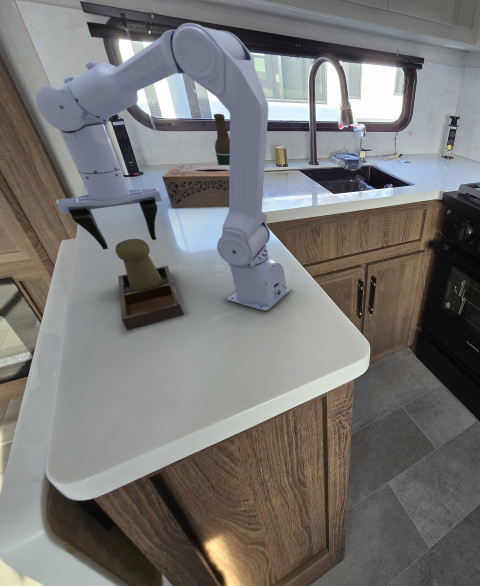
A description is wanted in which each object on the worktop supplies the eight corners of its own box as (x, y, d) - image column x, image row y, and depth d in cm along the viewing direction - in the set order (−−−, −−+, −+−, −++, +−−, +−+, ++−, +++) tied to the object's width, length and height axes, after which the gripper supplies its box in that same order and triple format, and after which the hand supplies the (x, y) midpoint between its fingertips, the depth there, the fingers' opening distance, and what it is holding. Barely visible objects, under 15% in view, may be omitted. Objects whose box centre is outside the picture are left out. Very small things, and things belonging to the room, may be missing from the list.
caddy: (183, 314, 63) (179, 304, 61) (127, 330, 58) (121, 319, 57) (171, 275, 74) (167, 265, 72) (122, 286, 69) (118, 275, 68)
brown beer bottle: (246, 180, 135) (234, 114, 122) (230, 184, 130) (215, 116, 116) (234, 177, 139) (221, 112, 125) (217, 181, 133) (202, 113, 120)
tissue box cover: (259, 192, 124) (255, 165, 119) (256, 205, 113) (251, 175, 107) (183, 194, 118) (174, 165, 113) (172, 208, 107) (162, 176, 101)
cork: (159, 279, 72) (141, 232, 66) (171, 289, 69) (153, 241, 63) (127, 290, 68) (104, 241, 62) (138, 302, 65) (116, 251, 59)
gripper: (146, 160, 63) (169, 227, 70) (43, 168, 55) (81, 243, 62) (152, 169, 58) (176, 239, 66) (41, 179, 50) (82, 258, 58)
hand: (130, 242), depth 64 cm, fingers open, 7 cm apart
